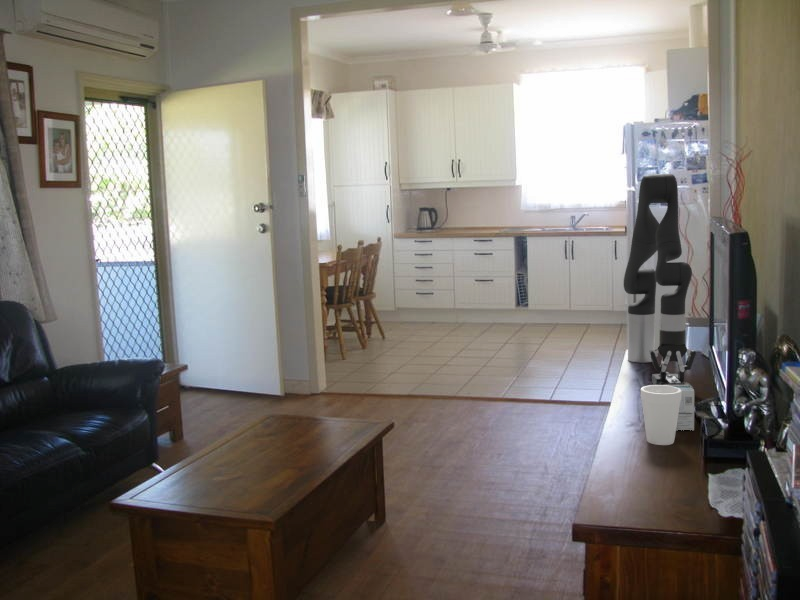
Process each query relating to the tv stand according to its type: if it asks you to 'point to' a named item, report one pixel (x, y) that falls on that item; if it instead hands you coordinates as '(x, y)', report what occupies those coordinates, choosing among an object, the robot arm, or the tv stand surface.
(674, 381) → the bolted link plate
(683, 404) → the light bulb box
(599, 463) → the tv stand surface
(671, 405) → the foam cup
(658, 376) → the end link
